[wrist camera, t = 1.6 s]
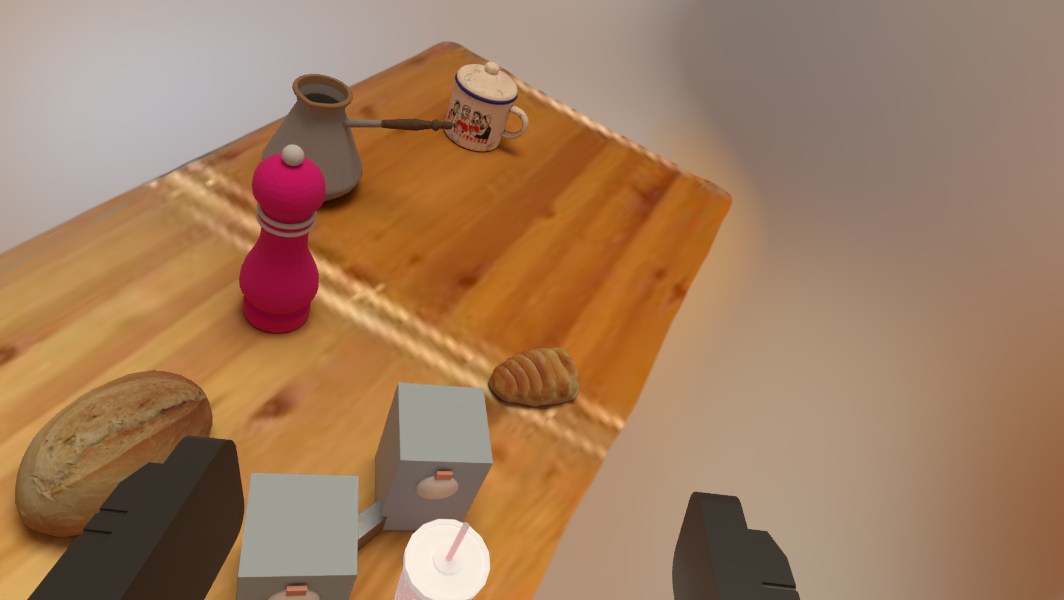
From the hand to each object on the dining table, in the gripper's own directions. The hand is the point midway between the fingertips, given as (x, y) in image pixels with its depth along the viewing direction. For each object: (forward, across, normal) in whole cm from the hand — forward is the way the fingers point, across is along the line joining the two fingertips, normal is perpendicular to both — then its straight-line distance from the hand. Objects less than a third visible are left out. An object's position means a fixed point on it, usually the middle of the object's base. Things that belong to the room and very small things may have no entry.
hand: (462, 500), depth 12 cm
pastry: (+52, +2, -36) cm, 63 cm away
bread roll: (+31, -29, -33) cm, 54 cm away
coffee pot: (+71, -23, -25) cm, 79 cm away
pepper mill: (+50, -25, -29) cm, 63 cm away
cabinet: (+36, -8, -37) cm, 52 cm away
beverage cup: (+26, -5, -40) cm, 48 cm away
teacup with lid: (+93, -10, -23) cm, 97 cm away
